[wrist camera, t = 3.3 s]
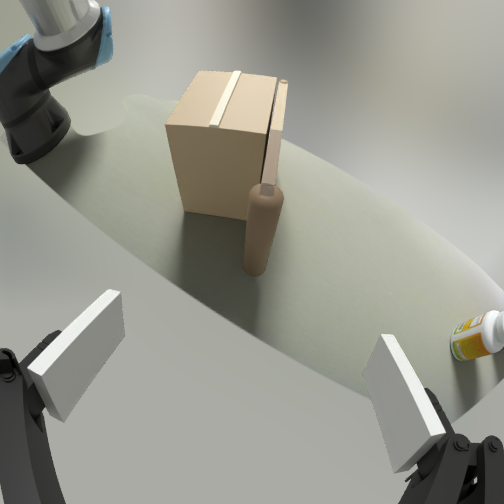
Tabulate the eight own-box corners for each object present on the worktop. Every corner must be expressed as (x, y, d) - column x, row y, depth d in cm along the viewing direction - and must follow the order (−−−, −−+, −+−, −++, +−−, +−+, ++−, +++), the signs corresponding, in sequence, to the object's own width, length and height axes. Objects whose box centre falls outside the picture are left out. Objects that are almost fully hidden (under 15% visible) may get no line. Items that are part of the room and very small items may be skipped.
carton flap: (263, 155, 39) (273, 75, 27) (279, 157, 39) (294, 78, 27) (240, 279, 31) (246, 207, 18) (262, 283, 31) (282, 213, 18)
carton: (205, 152, 39) (199, 68, 27) (265, 159, 39) (277, 75, 26) (184, 211, 34) (164, 121, 22) (254, 221, 34) (266, 131, 22)
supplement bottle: (470, 364, 27) (520, 350, 18) (446, 358, 28) (499, 343, 19) (474, 329, 29) (520, 308, 21) (451, 320, 30) (500, 297, 21)
